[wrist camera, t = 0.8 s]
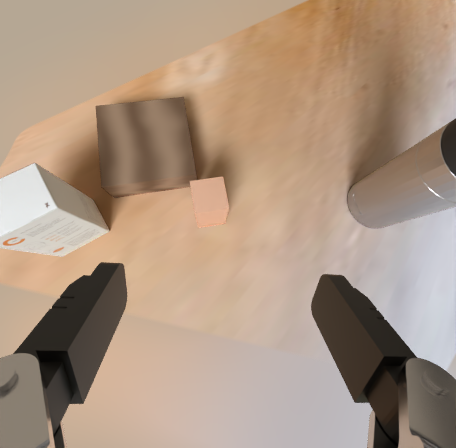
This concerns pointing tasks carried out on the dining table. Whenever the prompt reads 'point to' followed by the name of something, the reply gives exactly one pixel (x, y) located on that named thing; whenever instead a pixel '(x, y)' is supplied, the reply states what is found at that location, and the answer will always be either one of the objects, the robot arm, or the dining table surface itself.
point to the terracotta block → (209, 201)
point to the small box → (46, 214)
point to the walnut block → (144, 147)
